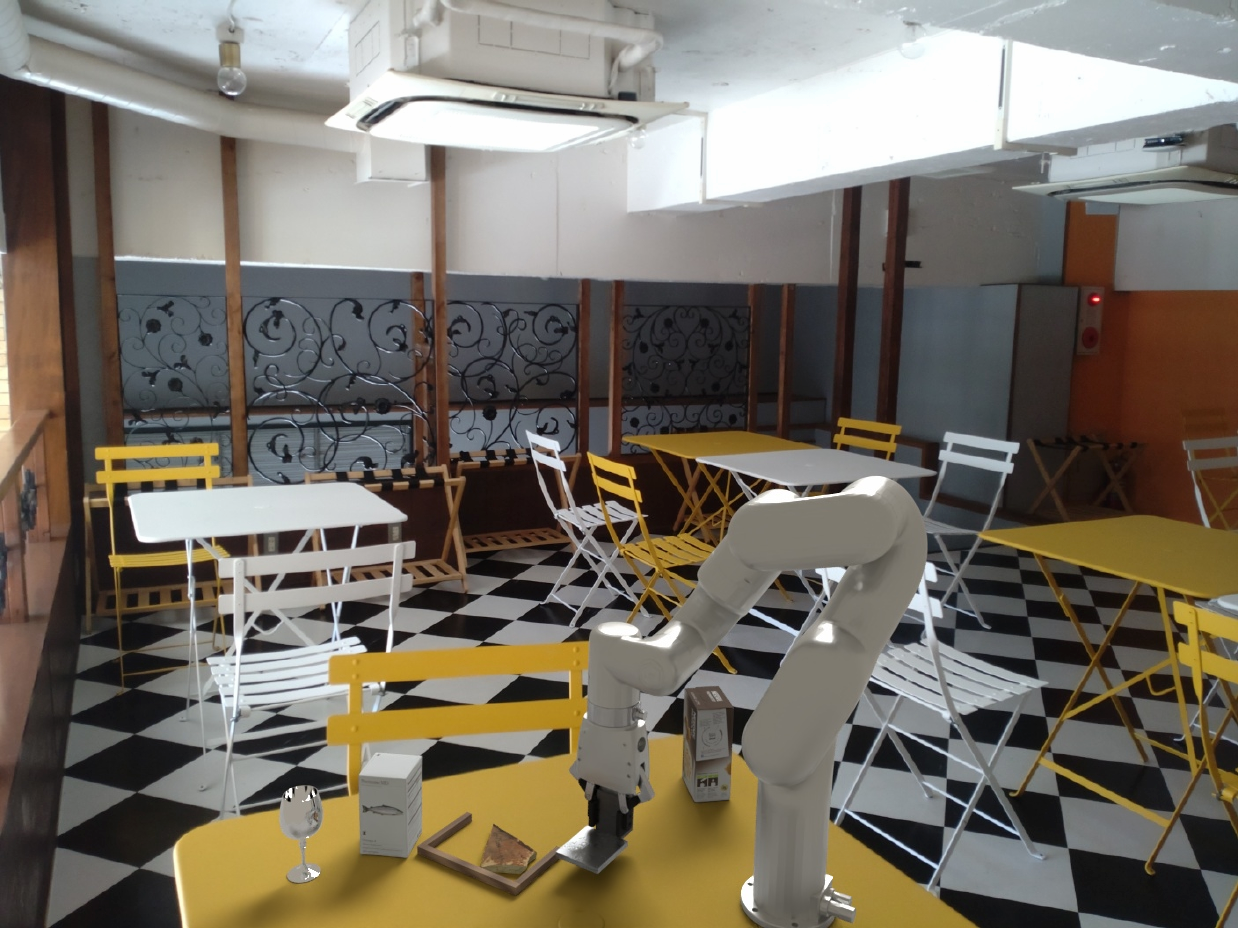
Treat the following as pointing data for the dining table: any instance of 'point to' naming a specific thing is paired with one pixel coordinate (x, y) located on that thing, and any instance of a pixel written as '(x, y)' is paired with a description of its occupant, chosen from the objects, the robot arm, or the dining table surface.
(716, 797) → the coffee box
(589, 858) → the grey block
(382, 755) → the supplement box
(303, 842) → the wineglass
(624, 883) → the dining table surface
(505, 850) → the shard
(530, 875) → the frame
